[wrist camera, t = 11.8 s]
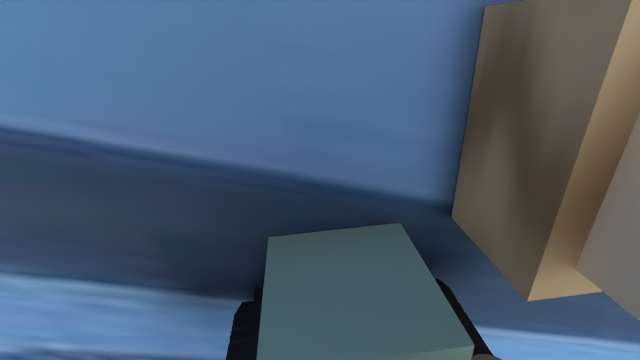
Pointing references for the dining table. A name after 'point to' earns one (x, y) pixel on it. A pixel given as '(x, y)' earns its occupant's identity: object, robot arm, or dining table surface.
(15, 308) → the dining table surface
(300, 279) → the teal cube
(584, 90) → the base block
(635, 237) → the cream cube
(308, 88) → the dining table surface
